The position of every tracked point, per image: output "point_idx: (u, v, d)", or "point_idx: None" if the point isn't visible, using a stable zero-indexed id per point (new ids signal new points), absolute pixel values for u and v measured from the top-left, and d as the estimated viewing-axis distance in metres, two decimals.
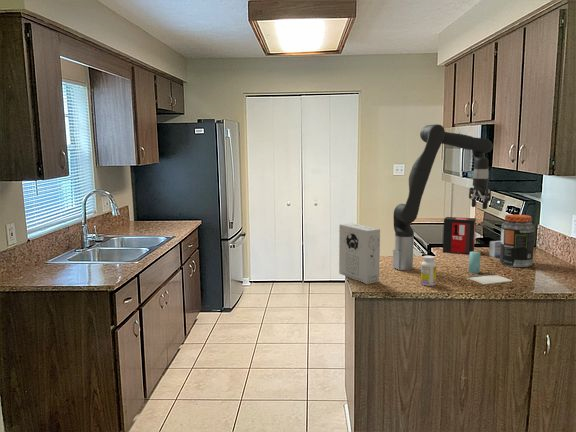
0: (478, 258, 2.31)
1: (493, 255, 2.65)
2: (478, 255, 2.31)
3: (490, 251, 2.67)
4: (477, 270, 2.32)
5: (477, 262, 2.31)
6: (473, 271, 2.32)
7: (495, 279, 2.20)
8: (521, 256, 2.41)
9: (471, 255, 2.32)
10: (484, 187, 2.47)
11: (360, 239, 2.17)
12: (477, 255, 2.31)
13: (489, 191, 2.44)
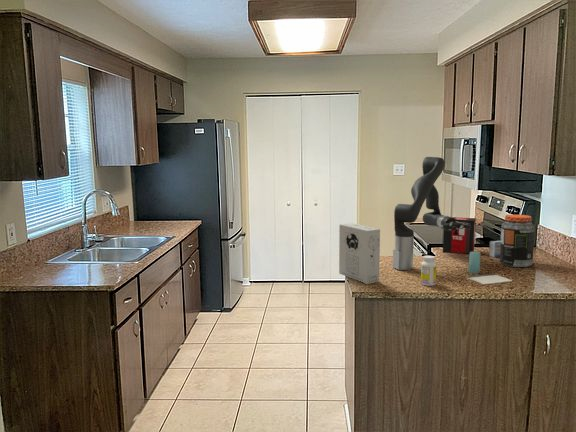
0: (478, 258, 2.31)
1: (493, 255, 2.65)
2: (478, 255, 2.31)
3: (490, 251, 2.67)
4: (477, 270, 2.32)
5: (477, 262, 2.31)
6: (473, 271, 2.32)
7: (495, 279, 2.20)
8: (521, 256, 2.41)
9: (471, 255, 2.32)
10: None
11: (360, 239, 2.17)
12: (477, 255, 2.31)
13: None
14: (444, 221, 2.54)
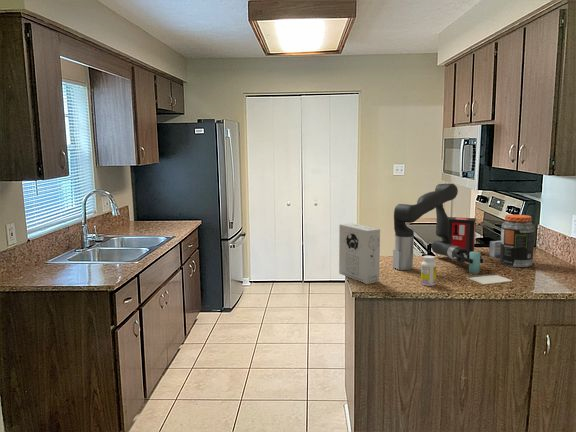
0: (478, 258, 2.31)
1: (493, 255, 2.65)
2: (478, 255, 2.31)
3: (490, 251, 2.67)
4: (477, 270, 2.32)
5: (477, 262, 2.31)
6: (473, 271, 2.32)
7: (495, 279, 2.20)
8: (521, 256, 2.41)
9: (471, 255, 2.32)
10: None
11: (360, 239, 2.17)
12: (477, 255, 2.31)
13: None
14: (455, 252, 2.44)
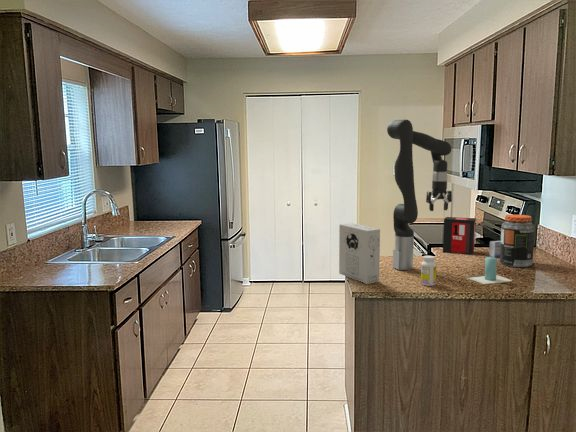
0: (495, 264, 2.17)
1: (493, 255, 2.65)
2: (495, 261, 2.17)
3: (490, 251, 2.67)
4: (494, 277, 2.18)
5: (494, 268, 2.17)
6: (490, 278, 2.18)
7: None
8: (521, 256, 2.41)
9: (487, 261, 2.18)
10: None
11: (360, 239, 2.17)
12: (494, 262, 2.17)
13: None
14: (435, 187, 2.47)
